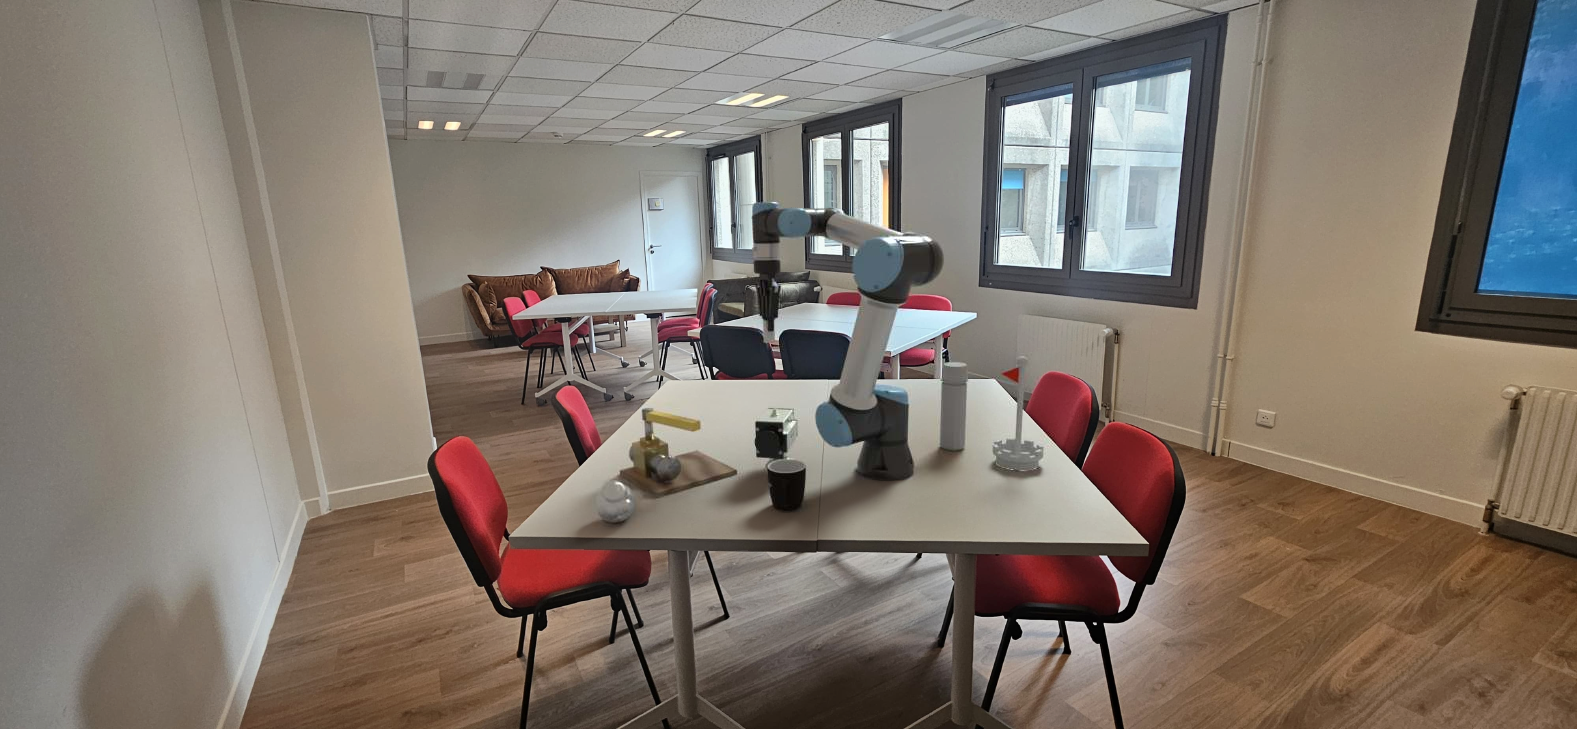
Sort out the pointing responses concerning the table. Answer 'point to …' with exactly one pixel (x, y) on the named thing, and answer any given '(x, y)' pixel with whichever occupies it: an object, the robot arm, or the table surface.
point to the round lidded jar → (615, 502)
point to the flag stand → (1018, 432)
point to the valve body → (653, 457)
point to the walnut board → (683, 474)
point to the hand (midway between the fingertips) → (769, 342)
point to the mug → (787, 484)
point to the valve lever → (670, 420)
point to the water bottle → (953, 406)
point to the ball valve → (775, 434)
